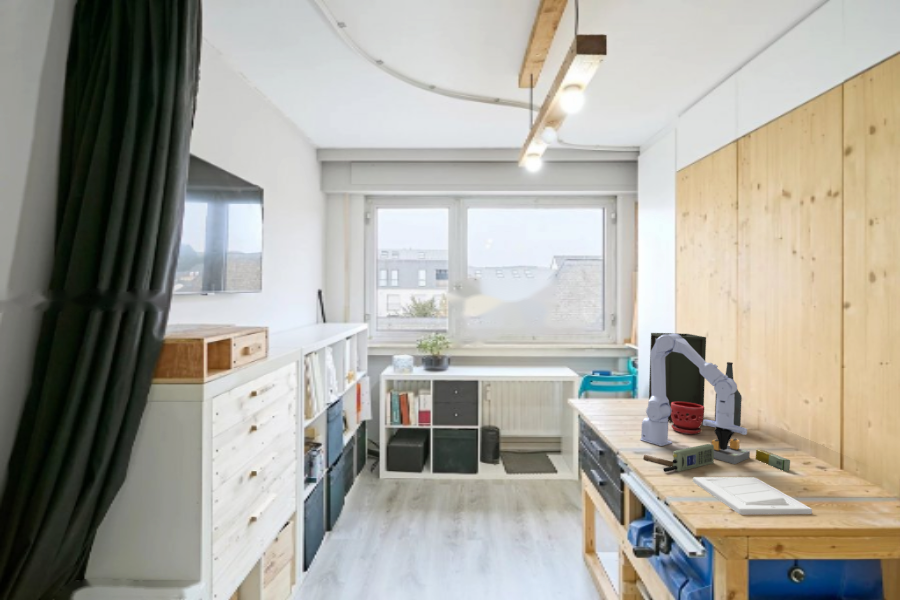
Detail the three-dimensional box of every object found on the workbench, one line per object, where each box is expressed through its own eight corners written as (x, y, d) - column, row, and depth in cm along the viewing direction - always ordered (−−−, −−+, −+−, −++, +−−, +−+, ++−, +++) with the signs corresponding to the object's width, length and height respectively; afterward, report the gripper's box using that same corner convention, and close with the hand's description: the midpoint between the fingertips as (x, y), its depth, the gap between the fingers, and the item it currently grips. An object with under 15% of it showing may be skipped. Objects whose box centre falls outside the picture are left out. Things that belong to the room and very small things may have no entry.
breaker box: (700, 454, 181) (700, 447, 181) (715, 448, 188) (716, 442, 188) (734, 464, 171) (734, 456, 171) (749, 458, 178) (749, 450, 178)
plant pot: (705, 437, 203) (706, 409, 203) (670, 433, 208) (671, 405, 208) (701, 429, 215) (702, 402, 215) (669, 425, 220) (670, 399, 220)
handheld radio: (715, 464, 172) (669, 475, 160) (706, 461, 175) (660, 472, 162) (715, 445, 172) (669, 455, 160) (706, 443, 175) (660, 452, 163)
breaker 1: (711, 448, 179) (711, 439, 179) (714, 447, 180) (714, 438, 180) (718, 450, 177) (718, 441, 177) (721, 449, 178) (721, 440, 178)
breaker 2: (729, 447, 180) (730, 438, 180) (732, 446, 182) (733, 437, 182) (736, 449, 179) (736, 440, 178) (739, 448, 180) (739, 439, 180)
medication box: (790, 471, 166) (791, 460, 166) (783, 471, 165) (784, 460, 165) (760, 459, 178) (761, 448, 178) (754, 459, 177) (755, 448, 177)
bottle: (731, 426, 222) (734, 360, 221) (745, 432, 212) (748, 364, 212) (709, 425, 222) (712, 360, 221) (722, 432, 212) (724, 363, 211)
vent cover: (813, 503, 133) (740, 503, 132) (812, 515, 133) (739, 516, 132) (755, 472, 156) (692, 472, 154) (754, 482, 156) (692, 482, 154)
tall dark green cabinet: (703, 421, 228) (706, 337, 228) (663, 420, 229) (666, 336, 228) (684, 412, 247) (687, 333, 246) (648, 411, 247) (650, 332, 246)
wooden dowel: (643, 454, 174) (645, 454, 175) (643, 460, 174) (645, 459, 175) (672, 462, 167) (674, 461, 168) (672, 467, 167) (674, 466, 168)
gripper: (751, 415, 173) (750, 453, 173) (709, 406, 185) (708, 442, 185) (742, 417, 169) (741, 456, 169) (700, 408, 180) (699, 445, 181)
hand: (723, 449), depth 177 cm, fingers closed
